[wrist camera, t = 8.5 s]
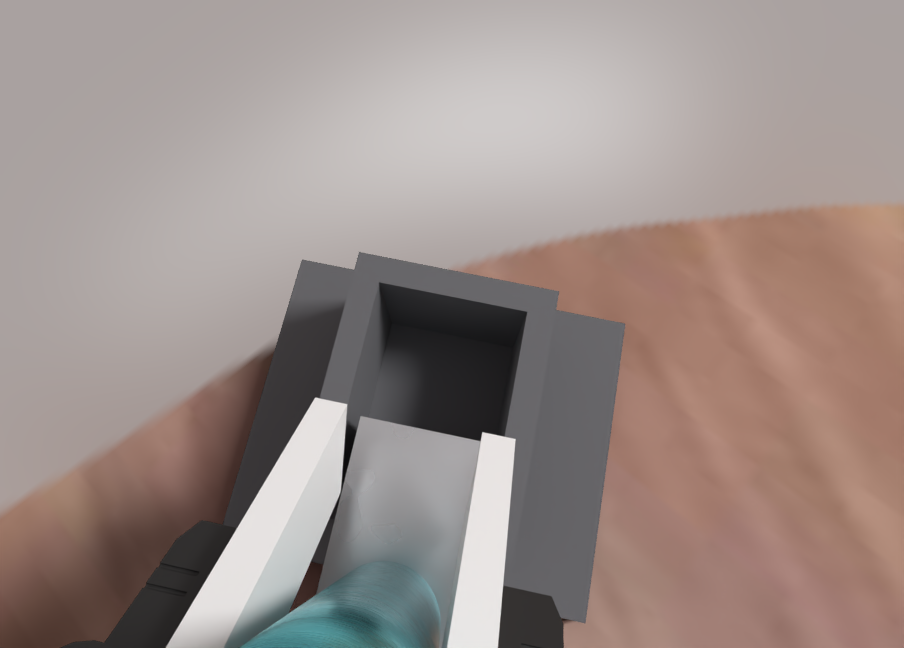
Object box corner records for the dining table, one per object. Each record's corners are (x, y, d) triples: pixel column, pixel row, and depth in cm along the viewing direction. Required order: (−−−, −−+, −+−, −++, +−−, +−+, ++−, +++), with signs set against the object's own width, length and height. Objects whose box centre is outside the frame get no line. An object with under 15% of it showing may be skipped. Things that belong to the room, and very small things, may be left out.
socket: (619, 329, 23) (664, 283, 18) (579, 618, 20) (621, 654, 15) (306, 267, 23) (270, 206, 19) (226, 539, 21) (159, 549, 16)
